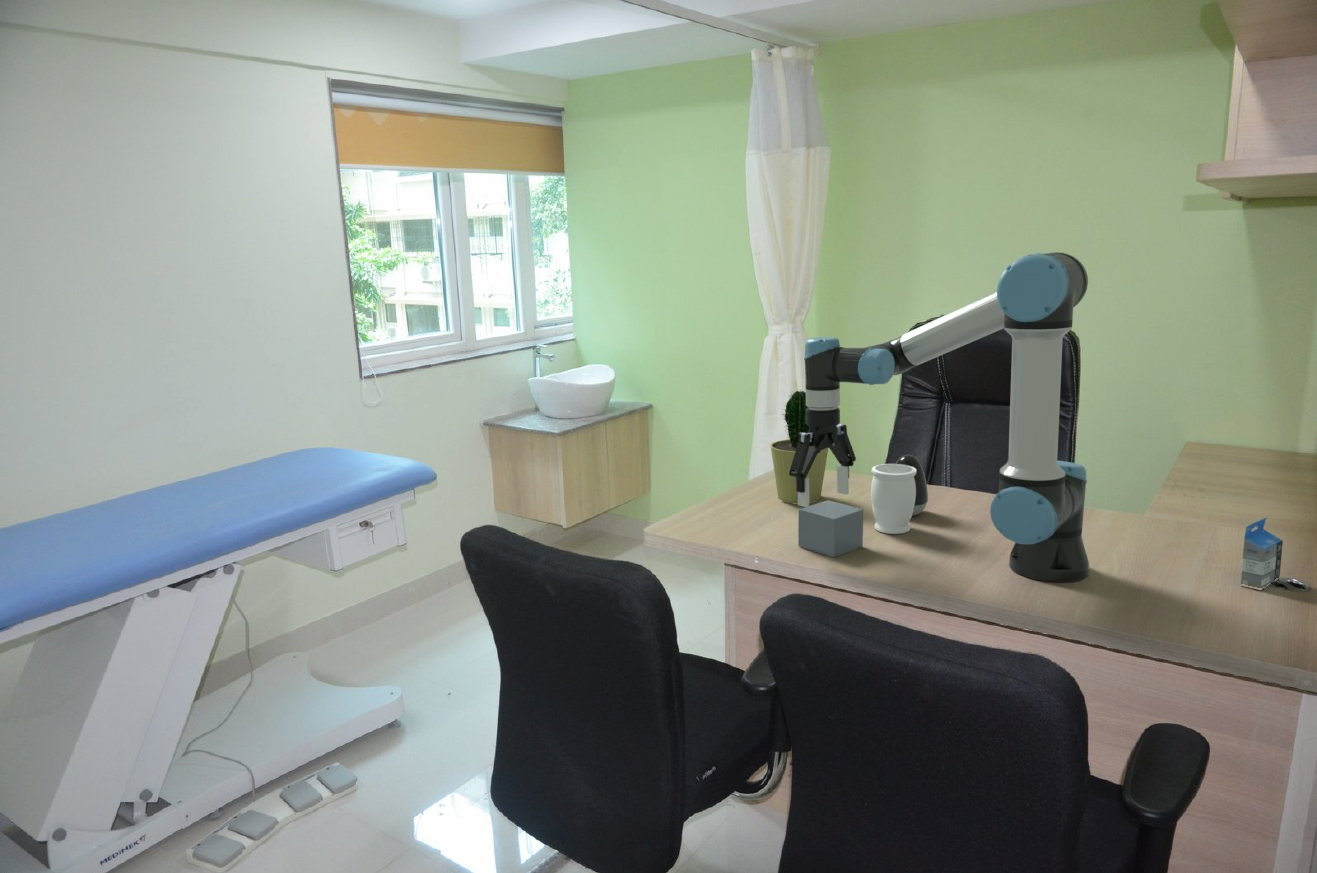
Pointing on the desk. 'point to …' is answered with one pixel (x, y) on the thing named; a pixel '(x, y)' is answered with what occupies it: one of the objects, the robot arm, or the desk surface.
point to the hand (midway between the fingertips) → (823, 499)
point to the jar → (893, 497)
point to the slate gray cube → (830, 528)
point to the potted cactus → (786, 450)
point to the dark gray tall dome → (917, 482)
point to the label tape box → (1260, 556)
